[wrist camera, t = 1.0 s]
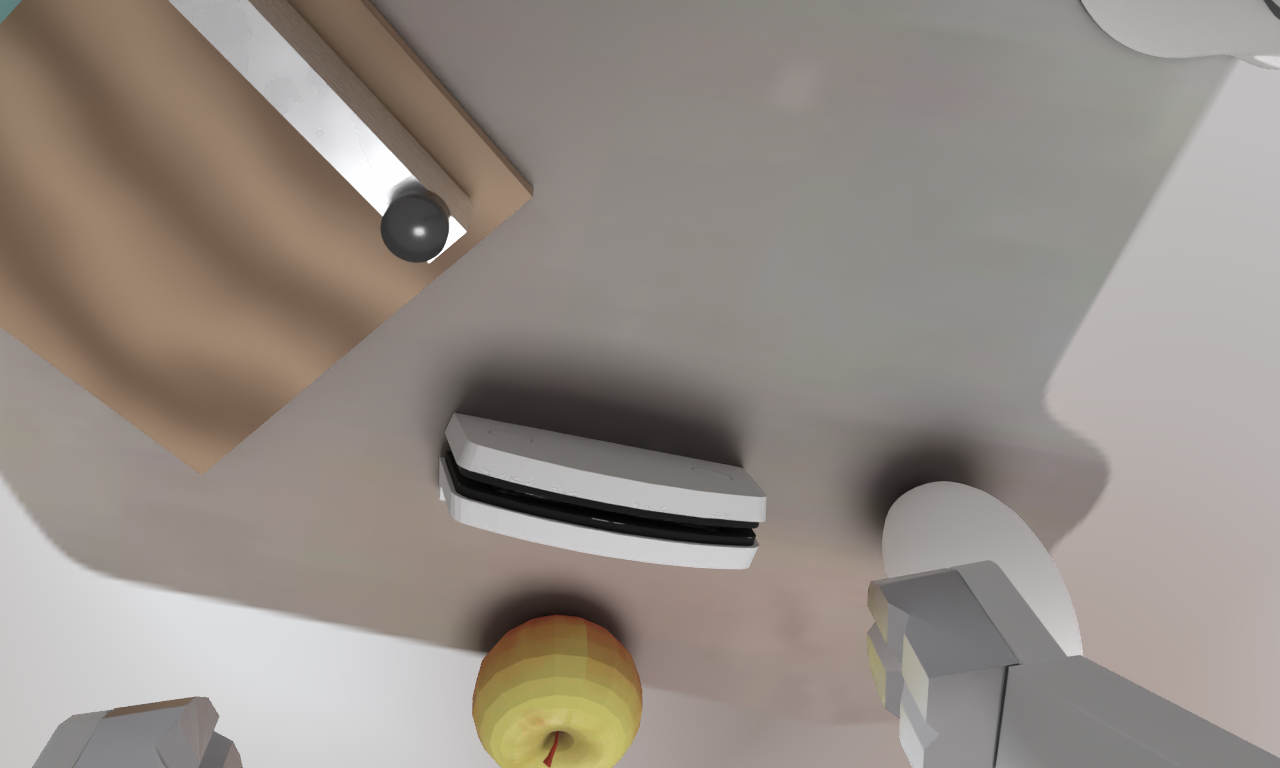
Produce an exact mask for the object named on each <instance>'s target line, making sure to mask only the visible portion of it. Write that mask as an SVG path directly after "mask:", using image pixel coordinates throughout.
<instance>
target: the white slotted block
mask: <svg viewBox="0 0 1280 768" xmlns="http://www.w3.org/2000/svg"><path fill="white" fill-rule="evenodd" d="M445 435H446V437H447V440H448V442H449V445H450V448H451V450H452V452H449V451H447V452H446V457H445V458H444V457H439V500H443V501H446V504H447V507H448V510H449V514H450V516H451V517H452V518H453V519H454V520H456V521H458V522H461V523H463V524H466V525H470V526H474V527H477V528H481V529H484V530H488V531H492V532H495V533H499V534H503V535H507V536H511V537H515V538H519V539H523V540H527V541H531V542H536V543H541V544H545V545H550V546H555V547H559V548H564V549H569V550H574V551H579V552H584V553H589V554H595V555H600V556H607V557H613V558H620V559H627V560H634V561H640V562H647V563H656V564H666V565H675V566H686V567H696V568H715V569H747V568H749V566H750V563H751V561H752V559H753V557H754V555H755V553H756V551H757V549H758V547H759V543H758V542H757V540H756V539H755V537H756V535H755V533H754V532H753V530H752V529H751V528H757V527H758V525H759V522H763V521H765V520H766V494H765V493H764V492H763V490H762V489H761V488H760V487H759V486H758V485H757V483H756V482H755V481H754V480H753V479H752V478H751V476H750V475H749V474H748V473H747V472H746V470H745V469H744V468H741V467H736V466H731V465H725V464H720V463H715V462H710V461H705V460H699V459H694V458H689V457H684V456H678V455H673V454H668V453H663V452H658V451H652V450H647V449H642V448H637V447H631V446H626V445H621V444H616V443H611V442H605V441H600V440H595V439H590V438H584V437H579V436H574V435H569V434H564V433H558V432H553V431H548V430H543V429H537V428H532V427H527V426H522V425H517V424H511V423H506V422H501V421H496V420H490V419H485V418H480V417H475V416H470V415H464V414H459V413H454V414H453V416H452V417H451V419H450V421H449V424H448V426H447V428H446V430H445Z"/></svg>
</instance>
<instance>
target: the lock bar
mask: <svg viewBox="0 0 1280 768" xmlns="http://www.w3.org/2000/svg"><path fill="white" fill-rule="evenodd" d="M168 1H169V2H170V3H171V4H172V5H173V6H174V7H175V8H176V9H177V10H178V11H179V12H180V13H181V14H182V15H183V16H184V17H185V18H186V19H187V20H188V21H189V22H190V23H191V24H192V25H193V26H194V27H195V28H196V29H197V30H198V31H199V32H200V33H201V34H202V35H203V36H204V37H205V38H206V39H207V40H208V41H209V42H210V43H211V44H212V45H213V46H214V47H215V48H216V49H217V50H218V51H219V52H220V53H221V54H222V55H223V56H224V57H225V58H226V59H227V60H228V61H229V62H230V63H231V64H232V65H233V66H234V67H235V68H236V69H237V70H238V71H239V72H240V73H241V74H242V75H243V76H244V77H245V78H246V79H247V80H248V81H249V82H250V83H251V84H252V85H253V86H254V87H255V88H256V89H257V90H258V91H259V92H260V93H261V94H262V95H263V96H264V97H265V98H266V99H267V100H268V101H269V102H270V103H271V104H272V105H273V106H274V107H275V108H276V109H277V110H278V111H279V112H280V113H281V114H282V115H283V117H284V118H285V119H286V120H287V121H288V122H289V123H290V124H291V125H292V126H293V127H294V128H295V129H296V130H297V131H298V132H299V133H300V134H301V135H302V136H303V137H304V138H305V139H306V140H307V141H308V142H309V143H310V144H311V145H312V146H313V147H314V148H315V149H316V150H317V151H318V152H319V153H320V154H321V155H322V156H323V157H324V158H325V159H326V160H327V161H328V162H329V163H330V164H331V165H332V166H333V167H334V168H335V169H336V170H337V171H338V172H339V173H340V174H341V175H342V176H343V177H344V178H345V179H346V180H347V181H348V182H349V183H350V184H351V185H352V186H353V187H354V188H355V189H356V190H357V191H358V192H359V193H360V194H361V195H362V196H363V197H364V198H365V199H366V200H367V201H368V202H369V203H370V204H371V205H372V206H373V207H374V208H375V209H376V210H377V211H378V212H379V213H380V214H381V215H382V216H383V217H382V220H381V226H380V230H381V236H382V239H383V242H384V243H385V245H386V247H387V248H388V249H389V250H390V252H392V253H393V254H394V255H395V256H397V257H398V258H400V259H402V260H405V261H408V262H413V263H421V262H426V261H427V262H428V263H430V262H432V261H433V260H434V259H435V258H436V257H438V256H439V255H440V254H441V253H442V252H443V251H445V250H446V249H447V248H448V247H449V246H451V245H452V244H453V243H454V242H455V241H456V240H458V239H459V238H460V237H461V236H462V235H464V234H465V233H466V232H467V229H468V225H469V222H470V218H471V215H472V211H473V208H474V203H473V202H472V201H471V200H470V199H469V198H468V197H467V195H466V194H465V193H464V192H463V191H462V190H461V189H460V188H459V187H458V186H457V185H456V184H455V182H454V181H453V180H452V179H451V178H450V177H449V176H448V175H447V174H446V173H445V172H444V170H443V169H442V168H441V167H440V166H439V165H438V164H437V163H436V162H435V161H434V160H433V159H432V157H431V156H430V155H429V154H428V153H427V152H426V151H425V150H424V149H423V148H422V147H421V146H420V144H419V143H418V142H417V141H416V140H415V139H414V138H413V137H412V136H411V135H410V134H409V133H408V131H407V130H406V129H405V128H404V127H403V126H402V125H401V124H400V123H399V122H398V121H397V119H396V118H395V117H394V116H393V115H392V114H391V113H390V112H389V111H388V110H387V109H386V108H385V106H384V105H383V104H382V103H381V102H380V101H379V100H378V99H377V98H376V97H375V96H374V95H373V93H372V92H371V91H370V90H369V89H368V88H367V87H366V86H365V85H364V84H363V83H362V81H361V80H360V79H359V78H358V77H357V76H356V75H355V74H354V73H353V72H352V71H351V70H350V68H349V67H348V66H347V65H346V64H345V63H344V62H343V61H342V60H341V59H340V58H339V57H338V55H337V54H336V53H335V52H334V51H333V50H332V49H331V48H330V47H329V46H328V45H327V44H326V42H325V41H324V40H323V39H322V38H321V37H320V36H319V35H318V34H317V33H316V32H315V30H314V29H313V28H312V27H311V26H310V25H309V24H308V23H307V22H306V21H305V20H304V19H303V17H302V16H301V15H300V14H299V13H298V12H297V11H296V10H295V9H294V8H293V7H292V6H291V4H290V3H289V2H288V1H287V0H168Z"/></svg>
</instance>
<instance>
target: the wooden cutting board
mask: <svg viewBox="0 0 1280 768" xmlns="http://www.w3.org/2000/svg"><path fill="white" fill-rule="evenodd" d="M287 1H288V2H289V3H290V4H291V6H292V7H293V8H294V9H295V10H296V11H297V12H298V13H299V14H300V15H301V16H302V17H303V19H304V20H305V21H306V22H307V23H308V24H309V25H310V26H311V27H312V28H313V29H314V30H315V32H316V33H317V34H318V35H319V36H320V37H321V38H322V39H323V40H324V41H325V42H326V44H327V45H328V46H329V47H330V48H331V49H332V50H333V51H334V52H335V53H336V54H337V55H338V57H339V58H340V59H341V60H342V61H343V62H344V63H345V64H346V65H347V66H348V67H349V68H350V70H351V71H352V72H353V73H354V74H355V75H356V76H357V77H358V78H359V79H360V80H361V81H362V83H363V84H364V85H365V86H366V87H367V88H368V89H369V90H370V91H371V92H372V93H373V95H374V96H375V97H376V98H377V99H378V100H379V101H380V102H381V103H382V104H383V105H384V106H385V108H386V109H387V110H388V111H389V112H390V113H391V114H392V115H393V116H394V117H395V118H396V119H397V121H398V122H399V123H400V124H401V125H402V126H403V127H404V128H405V129H406V130H407V131H408V133H409V134H410V135H411V136H412V137H413V138H414V139H415V140H416V141H417V142H418V143H419V144H420V146H421V147H422V148H423V149H424V150H425V151H426V152H427V153H428V154H429V155H430V156H431V157H432V159H433V160H434V161H435V162H436V163H437V164H438V165H439V166H440V167H441V168H442V169H443V170H444V172H445V173H446V174H447V175H448V176H449V177H450V178H451V179H452V180H453V181H454V182H455V184H456V185H457V186H458V187H459V188H460V189H461V190H462V191H463V192H464V193H465V194H466V195H467V197H468V198H469V199H470V200H471V201H472V202H473V203H474V208H473V211H472V215H471V218H470V222H469V225H468V229H467V232H466V233H465V234H464V235H462V236H461V237H460V238H459V239H458V240H456V241H455V242H454V243H453V244H452V245H451V246H449V247H448V248H447V249H446V250H445V251H443V252H442V253H441V254H440V255H439V256H438V257H436V258H435V259H434V260H433V261H432V262H430V263H428V262H427V261H426V262H421V263H413V262H408V261H405V260H402V259H400V258H398V257H397V256H395V255H394V254H393V253H392V252H390V250H389V249H388V248H387V247H386V245H385V243H384V242H383V239H382V236H381V230H380V226H381V220H382V217H383V216H382V215H381V214H380V213H379V212H378V211H377V210H376V209H375V208H374V207H373V206H372V205H371V204H370V203H369V202H368V201H367V200H366V199H365V198H364V197H363V196H362V195H361V194H360V193H359V192H358V191H357V190H356V189H355V188H354V187H353V186H352V185H351V184H350V183H349V182H348V181H347V180H346V179H345V178H344V177H343V176H342V175H341V174H340V173H339V172H338V171H337V170H336V169H335V168H334V167H333V166H332V165H331V164H330V163H329V162H328V161H327V160H326V159H325V158H324V157H323V156H322V155H321V154H320V153H319V152H318V151H317V150H316V149H315V148H314V147H313V146H312V145H311V144H310V143H309V142H308V141H307V140H306V139H305V138H304V137H303V136H302V135H301V134H300V133H299V132H298V131H297V130H296V129H295V128H294V127H293V126H292V125H291V124H290V123H289V122H288V121H287V120H286V119H285V118H284V117H283V115H282V114H281V113H280V112H279V111H278V110H277V109H276V108H275V107H274V106H273V105H272V104H271V103H270V102H269V101H268V100H267V99H266V98H265V97H264V96H263V95H262V94H261V93H260V92H259V91H258V90H257V89H256V88H255V87H254V86H253V85H252V84H251V83H250V82H249V81H248V80H247V79H246V78H245V77H244V76H243V75H242V74H241V73H240V72H239V71H238V70H237V69H236V68H235V67H234V66H233V65H232V64H231V63H230V62H229V61H228V60H227V59H226V58H225V57H224V56H223V55H222V54H221V53H220V52H219V51H218V50H217V49H216V48H215V47H214V46H213V45H212V44H211V43H210V42H209V41H208V40H207V39H206V38H205V37H204V36H203V35H202V34H201V33H200V32H199V31H198V30H197V29H196V28H195V27H194V26H193V25H192V24H191V23H190V22H189V21H188V20H187V19H186V18H185V17H184V16H183V15H182V14H181V13H180V12H179V11H178V10H177V9H176V8H175V7H174V6H173V5H172V4H171V3H170V2H169V1H168V0H22V1H21V2H20V3H19V4H18V5H17V6H16V7H15V8H14V9H13V11H12V12H11V13H10V14H9V15H8V16H7V17H6V18H5V19H4V20H3V22H2V23H1V24H0V327H2V328H3V329H4V330H6V331H7V332H8V333H10V334H11V335H12V336H14V337H15V338H16V339H18V340H19V341H21V342H22V343H23V344H25V345H26V346H27V347H29V348H30V349H31V350H33V351H34V352H35V353H37V354H38V355H39V356H41V357H42V358H44V359H45V360H46V361H48V362H49V363H50V364H52V365H53V366H54V367H56V368H57V369H58V370H60V371H61V372H62V373H64V374H65V375H67V376H68V377H69V378H71V379H72V380H73V381H75V382H76V383H77V384H79V385H80V386H81V387H83V388H84V389H85V390H87V391H88V392H90V393H91V394H92V395H94V396H95V397H96V398H98V399H99V400H100V401H102V402H103V403H104V404H106V405H107V406H109V407H110V408H111V409H113V410H114V411H115V412H117V413H118V414H119V415H121V416H122V417H123V418H125V419H126V420H127V421H129V422H130V423H132V424H133V425H134V426H136V427H137V428H138V429H140V430H141V431H142V432H144V433H145V434H146V435H148V436H149V437H150V438H152V439H153V440H155V441H156V442H157V443H159V444H160V445H161V446H163V447H164V448H165V449H167V450H168V451H169V452H171V453H172V454H173V455H175V456H176V457H178V458H179V459H180V460H182V461H183V462H184V463H186V464H187V465H188V466H190V467H191V468H192V469H194V470H195V471H196V472H198V473H199V474H201V475H202V474H203V473H205V472H206V471H207V470H208V469H209V468H211V467H212V466H213V465H214V464H215V463H217V462H218V461H219V460H220V459H221V458H223V457H224V456H225V455H226V454H227V453H228V452H230V451H231V450H232V449H233V448H234V447H236V446H237V445H238V444H239V443H240V442H242V441H243V440H244V439H245V438H246V437H248V436H249V435H250V434H251V433H252V432H253V431H255V430H256V429H257V428H258V427H259V426H261V425H262V424H263V423H264V422H265V421H267V420H268V419H269V418H270V417H271V416H273V415H274V414H275V413H276V412H277V411H279V410H280V409H281V408H282V407H283V406H284V405H286V404H287V403H288V402H289V401H290V400H292V399H293V398H294V397H295V396H296V395H298V394H299V393H300V392H301V391H302V390H304V389H305V388H306V387H307V386H308V385H309V384H311V383H312V382H313V381H314V380H315V379H317V378H318V377H319V376H320V375H321V374H323V373H324V372H325V371H326V370H327V369H329V368H330V367H331V366H332V365H333V364H334V363H336V362H337V361H338V360H339V359H340V358H342V357H343V356H344V355H345V354H346V353H348V352H349V351H350V350H351V349H352V348H354V347H355V346H356V345H357V344H358V343H360V342H361V341H362V340H363V339H364V338H365V337H367V336H368V335H369V334H370V333H371V332H373V331H374V330H375V329H376V328H377V327H379V326H380V325H381V324H382V323H383V322H385V321H386V320H387V319H388V318H389V317H390V316H392V315H393V314H394V313H395V312H396V311H398V310H399V309H400V308H401V307H402V306H404V305H405V304H406V303H407V302H408V301H410V300H411V299H412V298H413V297H414V296H415V295H417V294H418V293H419V292H420V291H421V290H423V289H424V288H425V287H426V286H427V285H429V284H430V283H431V282H432V281H433V280H435V279H436V278H437V277H438V276H439V275H441V274H442V273H443V272H444V271H445V270H446V269H448V268H449V267H450V266H451V265H452V264H454V263H455V262H456V261H457V260H458V259H460V258H461V257H462V256H463V255H464V254H466V253H467V252H468V251H469V250H470V249H471V248H473V247H474V246H475V245H476V244H477V243H479V242H480V241H481V240H482V239H483V238H485V237H486V236H487V235H488V234H489V233H491V232H492V231H493V230H494V229H495V228H496V227H498V226H499V225H500V224H501V223H502V222H504V221H505V220H506V219H507V218H508V217H510V216H511V215H512V214H513V213H514V212H516V211H517V210H518V209H519V208H520V207H522V206H523V205H524V204H525V203H526V202H527V201H529V200H530V199H531V198H532V197H533V188H532V186H531V185H530V184H529V183H528V182H527V181H526V180H525V178H524V177H523V176H522V175H521V174H520V173H519V171H518V170H517V169H516V168H515V167H514V166H513V165H512V163H511V162H510V161H509V160H508V159H507V158H506V157H505V155H504V154H503V153H502V152H501V151H500V150H499V149H498V147H497V146H496V145H495V144H494V143H493V142H492V141H491V139H490V138H489V137H488V136H487V135H486V134H485V133H484V131H483V130H482V129H481V128H480V127H479V126H478V124H477V123H476V122H475V121H474V120H473V119H472V118H471V116H470V115H469V114H468V113H467V112H466V111H465V110H464V108H463V107H462V106H461V105H460V104H459V103H458V102H457V100H456V99H455V98H454V97H453V96H452V95H451V94H450V92H449V91H448V90H447V89H446V88H445V87H444V86H443V84H442V83H441V82H440V81H439V80H438V79H437V77H436V76H435V75H434V74H433V73H432V72H431V71H430V69H429V68H428V67H427V66H426V65H425V64H424V63H423V61H422V60H421V59H420V58H419V57H418V56H417V55H416V53H415V52H414V51H413V50H412V49H411V48H410V47H409V45H408V44H407V43H406V42H405V41H404V40H403V39H402V37H401V36H400V35H399V34H398V33H397V32H396V30H395V29H394V28H393V27H392V26H391V25H390V24H389V22H388V21H387V20H386V19H385V18H384V17H383V16H382V14H381V13H380V12H379V11H378V10H377V9H376V8H375V6H374V5H373V4H372V3H371V2H370V1H369V0H287Z"/></svg>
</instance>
